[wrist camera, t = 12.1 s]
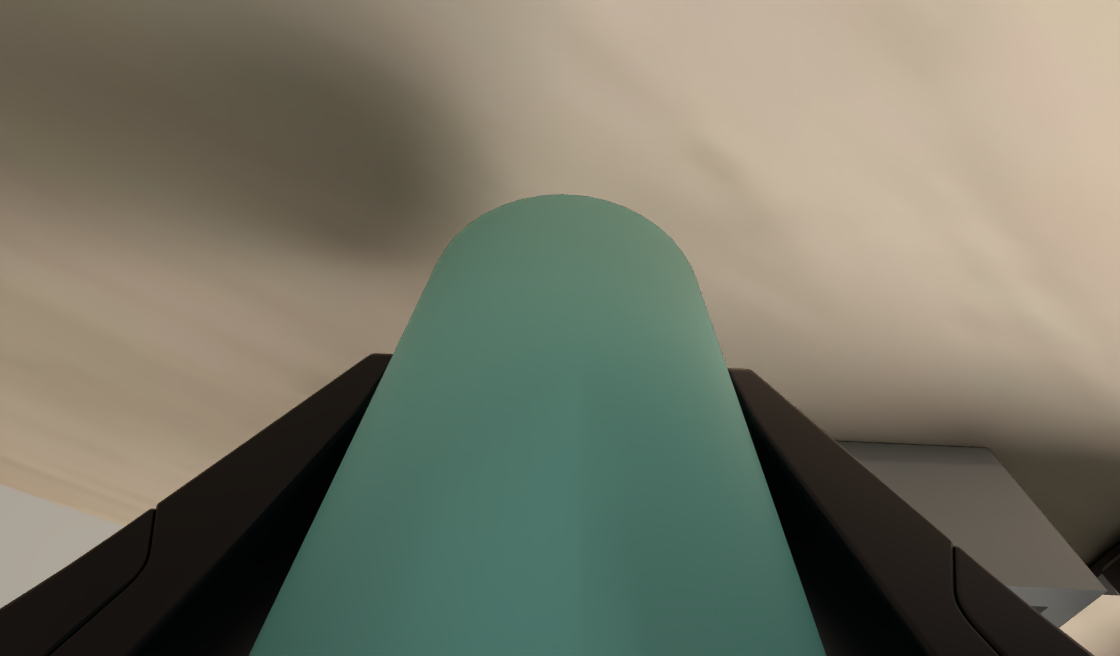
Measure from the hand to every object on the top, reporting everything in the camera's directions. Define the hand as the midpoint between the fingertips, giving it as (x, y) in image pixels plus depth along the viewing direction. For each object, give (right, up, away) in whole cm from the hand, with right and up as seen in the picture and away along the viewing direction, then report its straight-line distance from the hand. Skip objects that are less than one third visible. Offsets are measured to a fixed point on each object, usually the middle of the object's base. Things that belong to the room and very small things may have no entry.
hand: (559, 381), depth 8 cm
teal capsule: (0, +1, +1) cm, 2 cm away
